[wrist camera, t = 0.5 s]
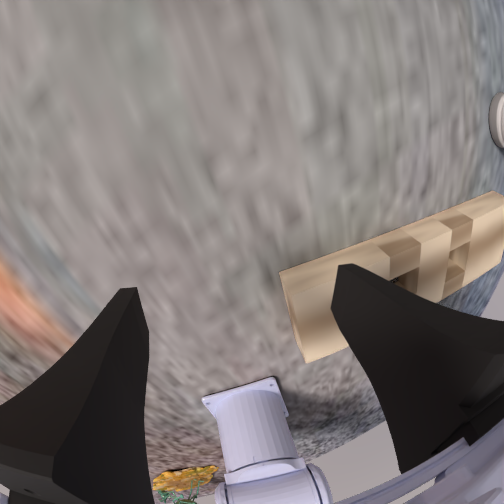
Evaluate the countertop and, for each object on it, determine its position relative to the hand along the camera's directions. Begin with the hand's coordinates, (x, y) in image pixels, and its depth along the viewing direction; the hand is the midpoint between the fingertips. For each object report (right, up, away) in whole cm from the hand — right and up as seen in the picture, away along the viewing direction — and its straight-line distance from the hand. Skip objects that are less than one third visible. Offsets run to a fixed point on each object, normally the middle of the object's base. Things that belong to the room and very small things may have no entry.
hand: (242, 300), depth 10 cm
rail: (+16, +1, +15) cm, 21 cm away
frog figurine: (-13, -38, +30) cm, 50 cm away
